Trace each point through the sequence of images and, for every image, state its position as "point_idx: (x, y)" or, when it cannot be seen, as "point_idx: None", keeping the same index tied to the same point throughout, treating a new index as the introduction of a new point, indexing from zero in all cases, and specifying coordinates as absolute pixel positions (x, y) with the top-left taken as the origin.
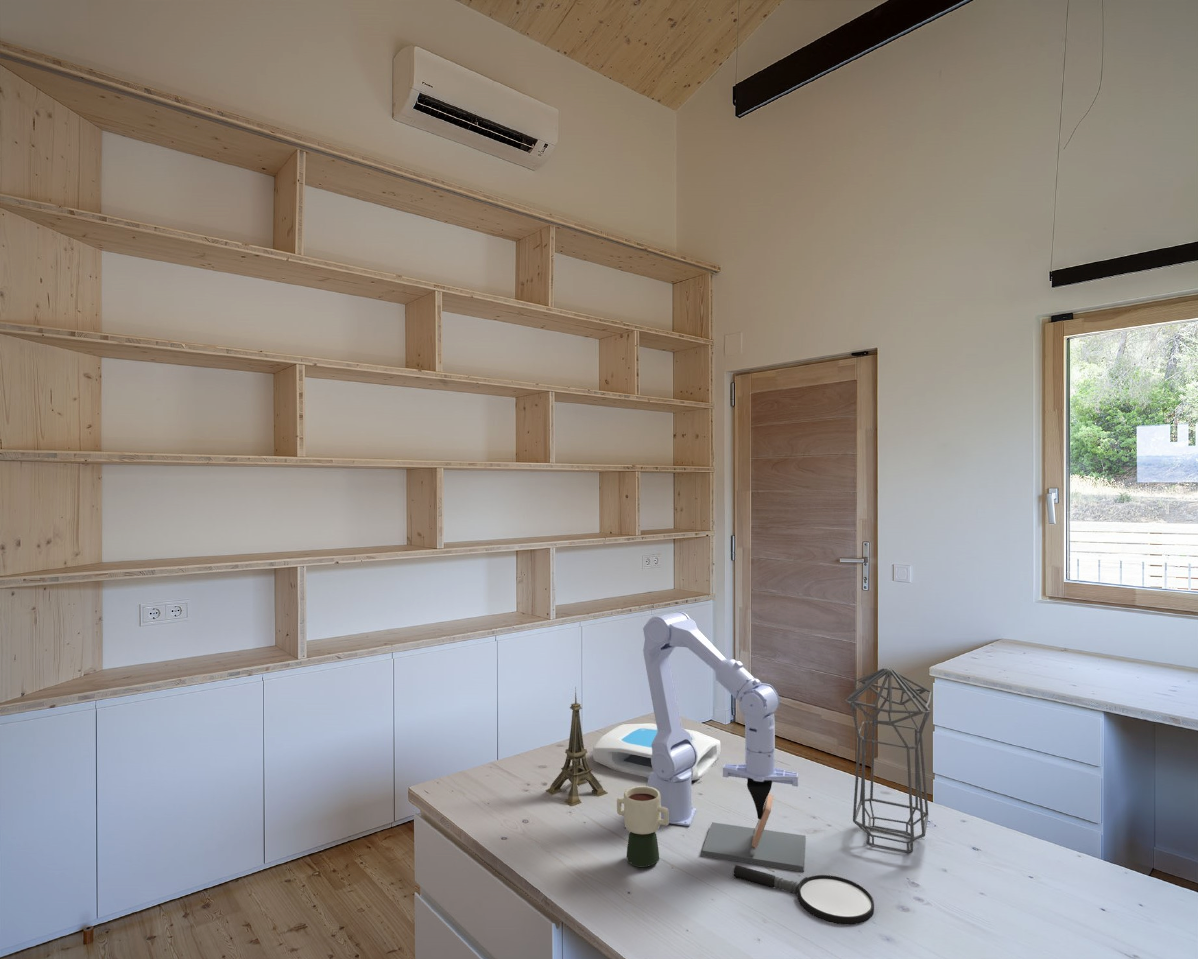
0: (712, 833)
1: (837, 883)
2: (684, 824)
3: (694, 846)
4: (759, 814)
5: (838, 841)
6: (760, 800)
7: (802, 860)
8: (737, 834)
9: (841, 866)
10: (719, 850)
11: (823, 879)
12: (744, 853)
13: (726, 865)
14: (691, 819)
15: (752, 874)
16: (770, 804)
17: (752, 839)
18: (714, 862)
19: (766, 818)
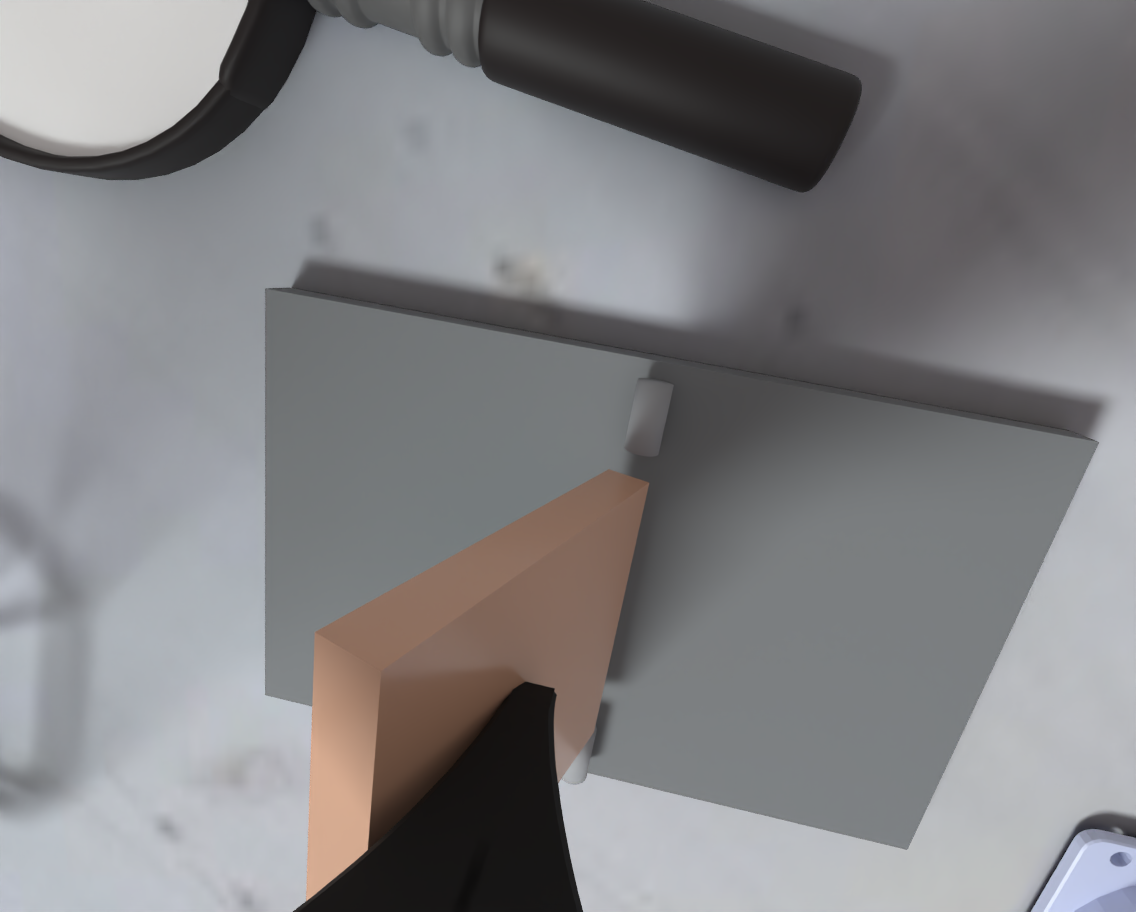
0: (936, 704)
1: (42, 104)
2: (1129, 839)
3: (1103, 563)
4: (526, 711)
5: (108, 671)
6: (446, 873)
7: (276, 375)
8: (731, 696)
9: (67, 392)
10: (928, 455)
11: (134, 141)
12: (711, 428)
13: (875, 300)
14: (1057, 894)
15: (687, 28)
16: (324, 821)
17: (624, 634)
18: (975, 335)
19: (432, 580)
